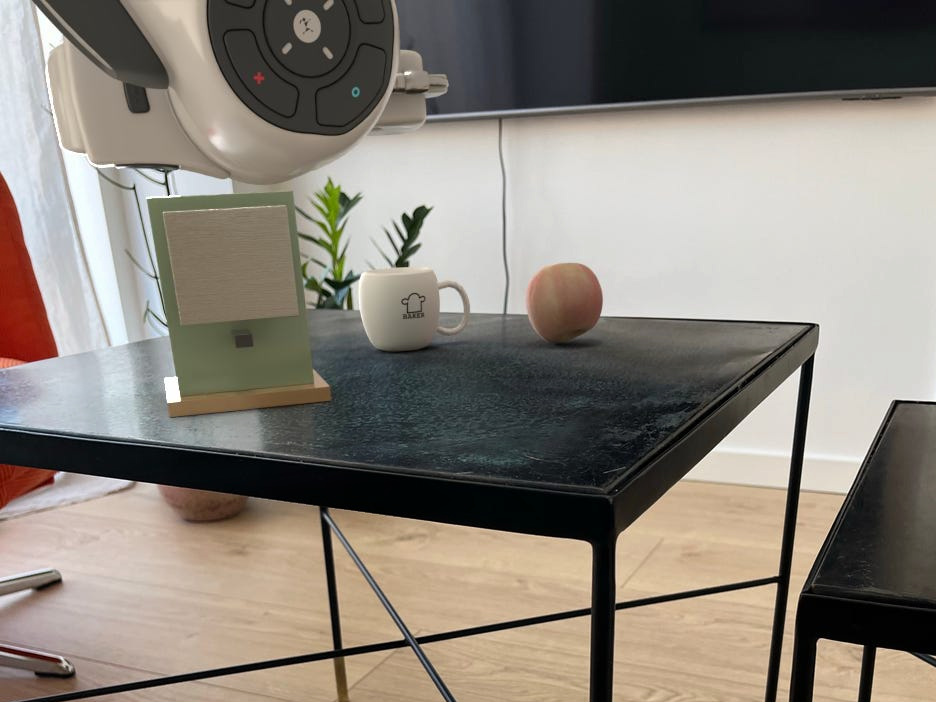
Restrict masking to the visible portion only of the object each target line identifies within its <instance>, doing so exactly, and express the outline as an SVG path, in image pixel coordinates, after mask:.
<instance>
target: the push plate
mask: <svg viewBox="0 0 936 702" xmlns="http://www.w3.org/2000/svg"><path fill="white" fill-rule="evenodd" d="M163 217H164V223H165V229H166V235H167V242H168V248H169V254H170V260H171V266H172V272H173V279H174V285H175V291H176V297H177V303H178V310H179V316H180V322H181V325H195V324H207V323H219V322H232V321H244V320H256V319H268V318H281V317H293V316H299V312H298V303H297V294H296V285H295V277H294V268H293V259H292V251H291V242H290V233H289V225H288V216H287V207H286V205H281V206H262V207H244V208H225V209H207V210H189V211H170V212H163Z"/></svg>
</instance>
